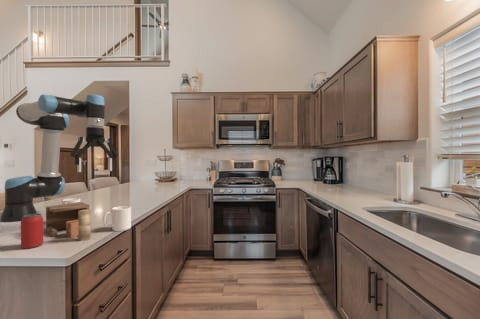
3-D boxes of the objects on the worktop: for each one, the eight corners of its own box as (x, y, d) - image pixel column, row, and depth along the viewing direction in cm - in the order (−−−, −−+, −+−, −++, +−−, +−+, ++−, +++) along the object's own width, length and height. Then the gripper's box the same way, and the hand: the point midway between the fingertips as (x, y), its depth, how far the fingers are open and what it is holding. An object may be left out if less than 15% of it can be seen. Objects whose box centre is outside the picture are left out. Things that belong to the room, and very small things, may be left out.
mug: (67, 226, 121) (67, 202, 121) (51, 225, 122) (51, 202, 122) (84, 220, 133) (84, 198, 133) (70, 219, 134) (70, 198, 134)
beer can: (29, 243, 97) (29, 213, 97) (47, 242, 98) (47, 212, 97) (16, 249, 90) (15, 217, 90) (35, 249, 91) (34, 216, 91)
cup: (133, 229, 116) (133, 207, 116) (104, 234, 108) (104, 211, 108) (128, 225, 122) (128, 205, 122) (101, 229, 115) (101, 208, 115)
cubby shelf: (46, 231, 112) (45, 206, 112) (80, 225, 123) (80, 202, 123) (53, 236, 105) (53, 209, 105) (89, 229, 116) (89, 204, 116)
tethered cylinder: (66, 235, 107) (66, 208, 107) (81, 232, 112) (81, 205, 111) (78, 242, 98) (78, 212, 98) (94, 238, 103) (94, 210, 103)
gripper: (67, 124, 106) (67, 173, 106) (124, 129, 125) (124, 170, 125) (62, 125, 110) (62, 172, 111) (118, 130, 130) (118, 169, 130)
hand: (95, 171), depth 118 cm, fingers open, 13 cm apart
